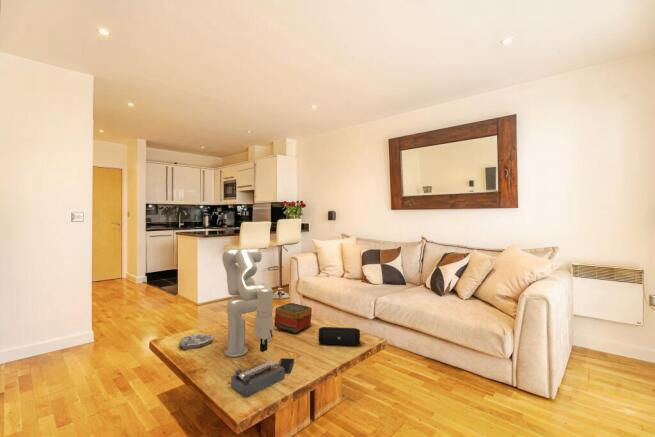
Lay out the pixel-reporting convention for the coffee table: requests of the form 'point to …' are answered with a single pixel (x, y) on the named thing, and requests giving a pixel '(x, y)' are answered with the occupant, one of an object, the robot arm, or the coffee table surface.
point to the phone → (286, 364)
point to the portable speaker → (339, 335)
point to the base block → (256, 380)
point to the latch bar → (257, 369)
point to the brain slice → (195, 341)
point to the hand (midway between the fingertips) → (263, 350)
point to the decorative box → (292, 317)
